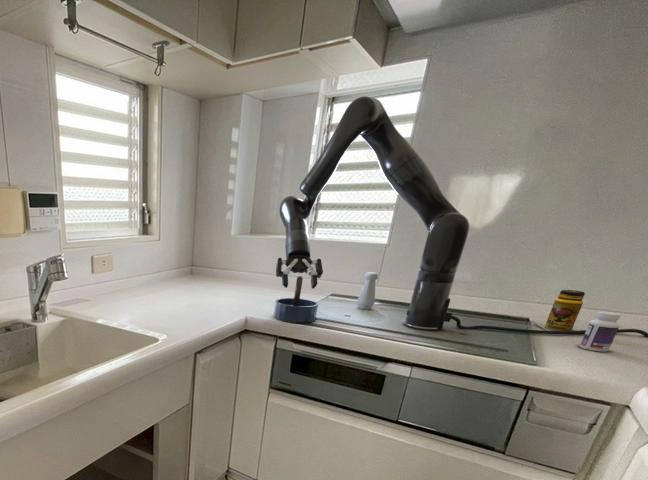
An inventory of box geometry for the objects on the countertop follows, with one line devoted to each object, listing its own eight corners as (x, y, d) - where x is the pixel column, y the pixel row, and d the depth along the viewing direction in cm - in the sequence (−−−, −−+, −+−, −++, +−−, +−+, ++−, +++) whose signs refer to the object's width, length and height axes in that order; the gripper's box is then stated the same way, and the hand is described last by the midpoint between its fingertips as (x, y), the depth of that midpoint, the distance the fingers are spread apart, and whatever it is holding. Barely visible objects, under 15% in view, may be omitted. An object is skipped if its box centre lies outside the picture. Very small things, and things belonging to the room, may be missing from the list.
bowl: (315, 315, 138) (317, 300, 136) (315, 325, 126) (318, 308, 124) (275, 312, 142) (277, 296, 140) (272, 321, 131) (274, 304, 128)
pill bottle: (613, 351, 105) (630, 314, 102) (599, 353, 104) (616, 316, 100) (587, 345, 110) (602, 310, 106) (574, 346, 109) (589, 311, 105)
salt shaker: (375, 310, 147) (383, 274, 142) (358, 309, 148) (366, 273, 143) (370, 306, 152) (378, 271, 147) (354, 305, 153) (361, 271, 148)
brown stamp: (302, 315, 135) (308, 275, 130) (302, 319, 131) (308, 277, 126) (286, 314, 137) (292, 274, 132) (285, 317, 133) (291, 276, 128)
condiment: (548, 331, 122) (564, 292, 118) (535, 324, 130) (550, 287, 125) (579, 334, 120) (596, 294, 115) (564, 327, 127) (580, 289, 123)
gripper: (278, 238, 132) (279, 279, 126) (322, 239, 131) (326, 280, 125) (273, 253, 139) (274, 292, 133) (315, 254, 138) (319, 294, 132)
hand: (300, 286), depth 129 cm, fingers open, 8 cm apart
